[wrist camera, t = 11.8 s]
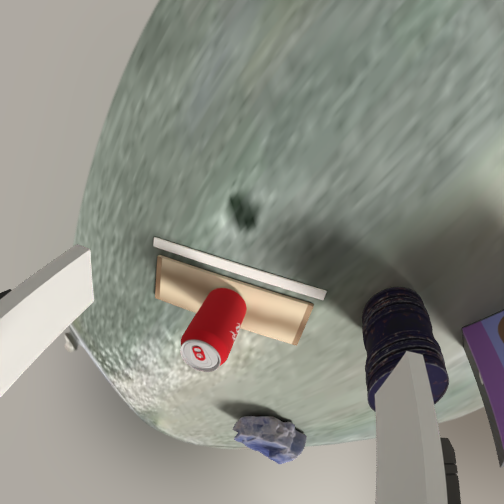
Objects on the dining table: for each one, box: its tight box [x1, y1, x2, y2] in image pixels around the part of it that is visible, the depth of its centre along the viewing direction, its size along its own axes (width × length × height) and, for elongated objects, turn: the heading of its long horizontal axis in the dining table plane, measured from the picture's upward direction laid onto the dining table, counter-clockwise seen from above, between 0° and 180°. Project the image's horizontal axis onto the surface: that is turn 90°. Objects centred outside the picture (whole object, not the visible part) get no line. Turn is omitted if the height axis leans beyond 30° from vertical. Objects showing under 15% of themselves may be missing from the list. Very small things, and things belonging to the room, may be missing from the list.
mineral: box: [233, 416, 306, 464], centre depth 56 cm, size 14×10×10 cm
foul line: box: [153, 237, 327, 300], centre depth 44 cm, size 2×26×1 cm, turn 77°
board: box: [155, 255, 314, 346], centre depth 47 cm, size 8×24×1 cm, turn 78°
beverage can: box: [180, 288, 247, 372], centre depth 41 cm, size 6×6×12 cm
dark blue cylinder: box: [362, 287, 449, 412], centre depth 35 cm, size 10×10×15 cm
